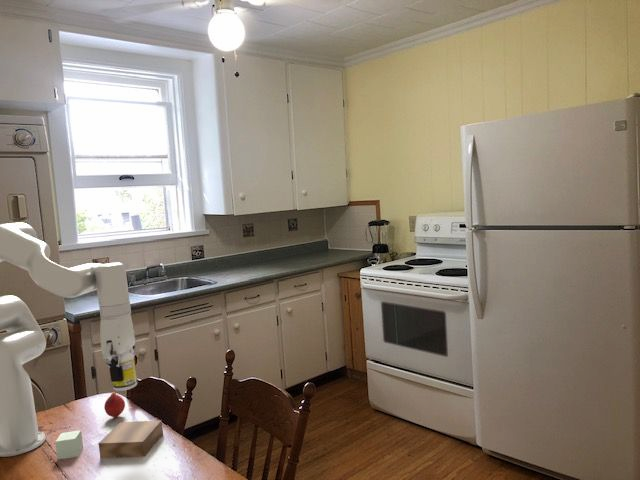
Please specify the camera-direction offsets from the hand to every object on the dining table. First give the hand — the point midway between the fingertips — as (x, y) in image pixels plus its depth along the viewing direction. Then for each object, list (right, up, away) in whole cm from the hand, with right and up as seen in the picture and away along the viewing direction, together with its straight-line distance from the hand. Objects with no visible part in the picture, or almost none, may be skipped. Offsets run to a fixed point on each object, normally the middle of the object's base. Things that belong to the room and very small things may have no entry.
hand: (123, 375), depth 137 cm
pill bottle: (0, -3, 0) cm, 3 cm away
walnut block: (+2, -19, +2) cm, 20 cm away
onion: (-10, -19, +21) cm, 30 cm away
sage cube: (-14, -21, +1) cm, 25 cm away
